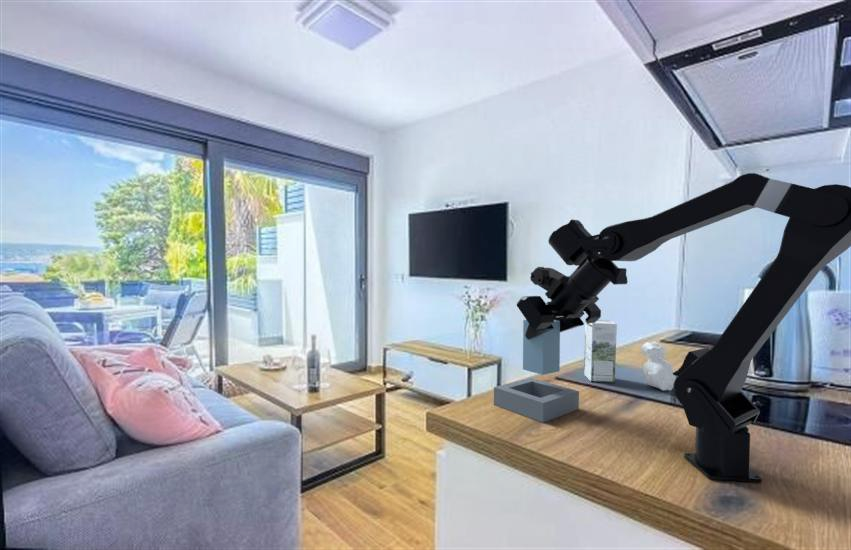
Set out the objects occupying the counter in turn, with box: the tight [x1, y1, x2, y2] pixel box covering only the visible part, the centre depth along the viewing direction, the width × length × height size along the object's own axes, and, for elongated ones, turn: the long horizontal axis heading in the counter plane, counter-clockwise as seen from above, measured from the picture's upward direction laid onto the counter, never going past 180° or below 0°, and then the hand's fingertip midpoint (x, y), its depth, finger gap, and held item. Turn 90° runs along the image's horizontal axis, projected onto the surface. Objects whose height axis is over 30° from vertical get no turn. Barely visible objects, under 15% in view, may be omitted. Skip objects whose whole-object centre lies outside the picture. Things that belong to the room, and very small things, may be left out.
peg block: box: [522, 319, 561, 376], centre depth 81 cm, size 5×5×10 cm
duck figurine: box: [640, 341, 677, 392], centre depth 94 cm, size 12×8×11 cm
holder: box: [493, 377, 580, 424], centre depth 79 cm, size 12×12×4 cm
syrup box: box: [583, 319, 618, 383], centre depth 99 cm, size 6×6×14 cm
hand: (535, 336), depth 82 cm, fingers closed on peg block, 5 cm apart
